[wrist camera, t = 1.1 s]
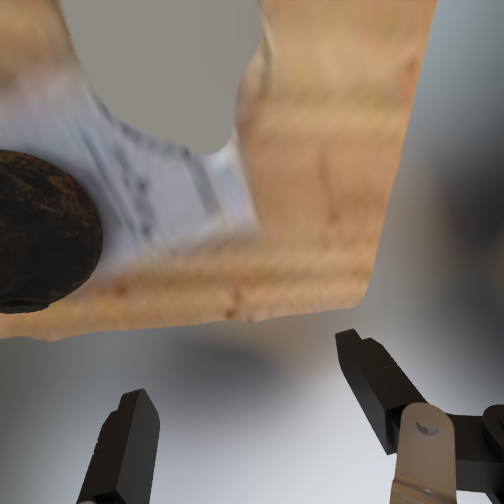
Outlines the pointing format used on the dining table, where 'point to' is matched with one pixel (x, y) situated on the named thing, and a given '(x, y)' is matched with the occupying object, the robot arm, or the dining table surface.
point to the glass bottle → (43, 234)
